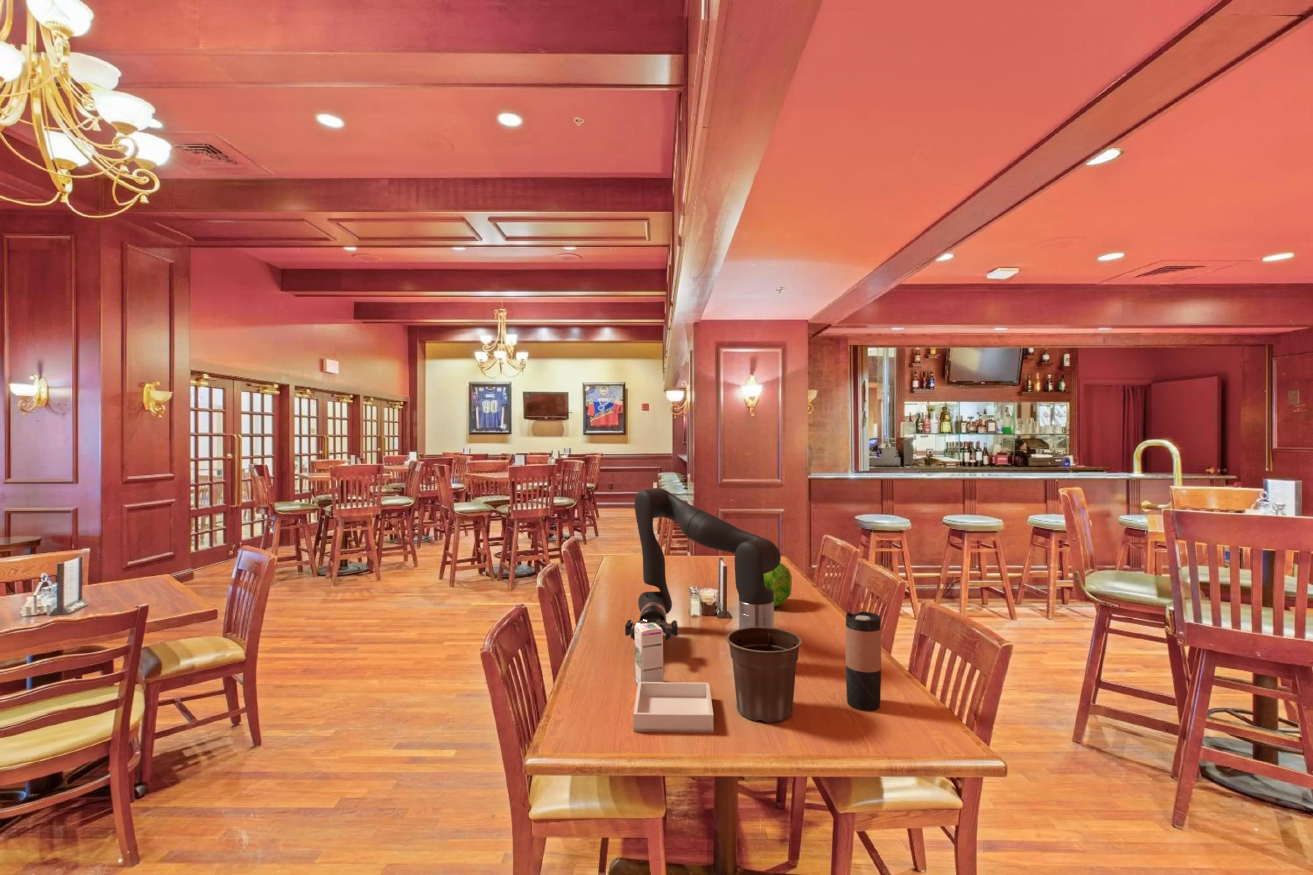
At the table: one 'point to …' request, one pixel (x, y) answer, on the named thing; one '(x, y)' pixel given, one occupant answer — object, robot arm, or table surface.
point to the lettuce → (779, 583)
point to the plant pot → (764, 671)
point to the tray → (673, 707)
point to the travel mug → (863, 660)
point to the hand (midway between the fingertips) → (650, 636)
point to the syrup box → (648, 653)
